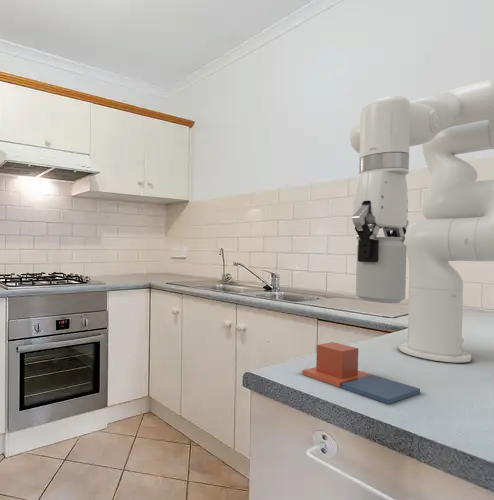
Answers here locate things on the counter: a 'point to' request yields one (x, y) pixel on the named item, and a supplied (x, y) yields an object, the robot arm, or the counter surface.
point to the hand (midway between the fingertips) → (380, 261)
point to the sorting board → (367, 385)
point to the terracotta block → (337, 360)
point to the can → (383, 273)
